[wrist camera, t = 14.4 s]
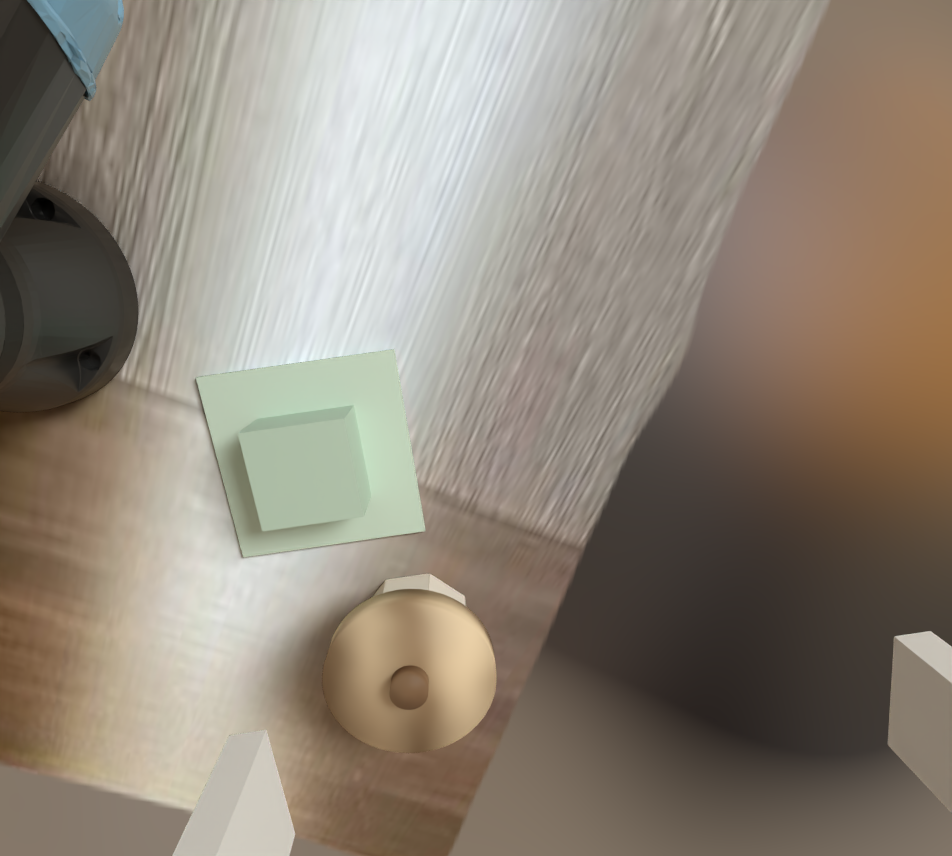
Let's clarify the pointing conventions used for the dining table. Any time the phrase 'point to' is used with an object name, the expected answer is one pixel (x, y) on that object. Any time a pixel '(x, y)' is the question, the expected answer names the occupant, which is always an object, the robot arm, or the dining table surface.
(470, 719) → the lid
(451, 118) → the dining table surface
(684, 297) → the dining table surface
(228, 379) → the mat stand
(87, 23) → the robot arm
